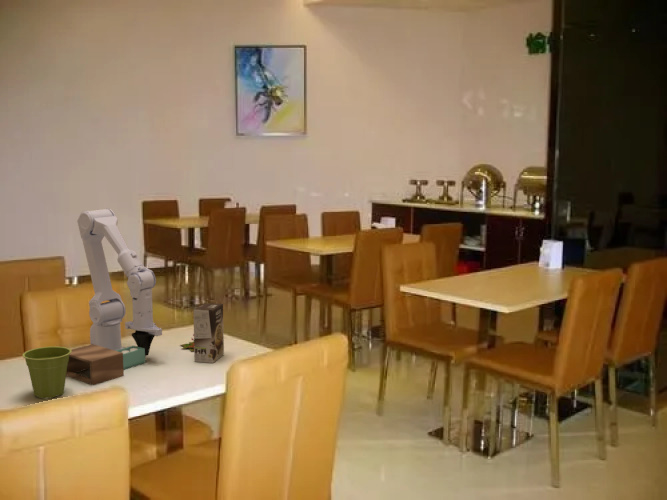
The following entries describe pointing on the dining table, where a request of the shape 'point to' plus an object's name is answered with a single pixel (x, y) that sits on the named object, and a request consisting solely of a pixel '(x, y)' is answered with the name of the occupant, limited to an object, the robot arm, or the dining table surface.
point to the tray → (132, 356)
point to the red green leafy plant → (189, 345)
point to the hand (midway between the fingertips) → (144, 355)
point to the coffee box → (208, 332)
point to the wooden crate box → (95, 364)
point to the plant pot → (47, 370)
